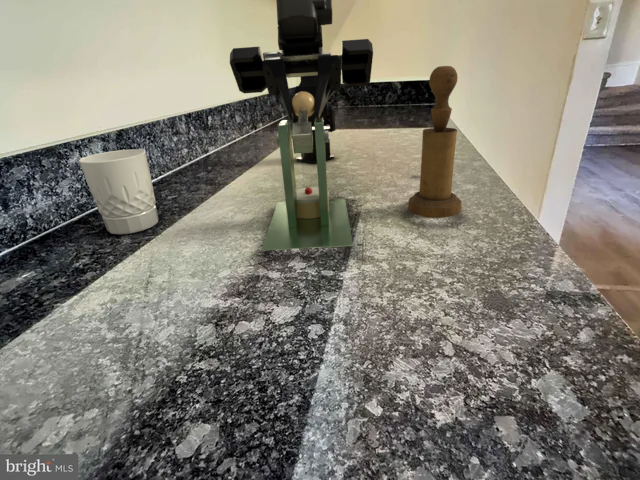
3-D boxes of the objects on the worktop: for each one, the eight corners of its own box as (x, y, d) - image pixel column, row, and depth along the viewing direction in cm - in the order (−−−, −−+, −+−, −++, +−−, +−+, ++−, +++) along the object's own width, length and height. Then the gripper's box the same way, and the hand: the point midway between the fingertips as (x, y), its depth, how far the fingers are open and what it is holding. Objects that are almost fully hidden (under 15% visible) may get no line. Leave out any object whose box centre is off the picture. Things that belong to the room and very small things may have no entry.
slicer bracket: (278, 209, 54) (267, 116, 49) (345, 205, 54) (342, 111, 48) (262, 260, 40) (244, 135, 34) (353, 255, 40) (350, 128, 34)
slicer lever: (293, 111, 50) (290, 88, 48) (316, 109, 50) (314, 86, 47) (290, 157, 42) (286, 132, 40) (317, 155, 42) (315, 130, 40)
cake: (291, 206, 52) (289, 183, 50) (329, 204, 52) (328, 180, 50) (288, 220, 47) (285, 195, 45) (330, 218, 47) (329, 192, 45)
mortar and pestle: (462, 210, 49) (478, 63, 42) (457, 228, 44) (474, 64, 37) (413, 206, 52) (419, 67, 44) (402, 222, 47) (407, 68, 39)
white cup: (174, 217, 54) (157, 149, 50) (134, 239, 47) (111, 162, 43) (133, 214, 57) (114, 149, 52) (89, 234, 50) (63, 161, 46)
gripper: (220, -25, 45) (212, 74, 40) (371, -36, 44) (383, 62, 39) (242, 50, 55) (238, 136, 50) (365, 41, 55) (374, 128, 50)
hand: (304, 117), depth 47 cm, fingers closed on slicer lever, 3 cm apart
